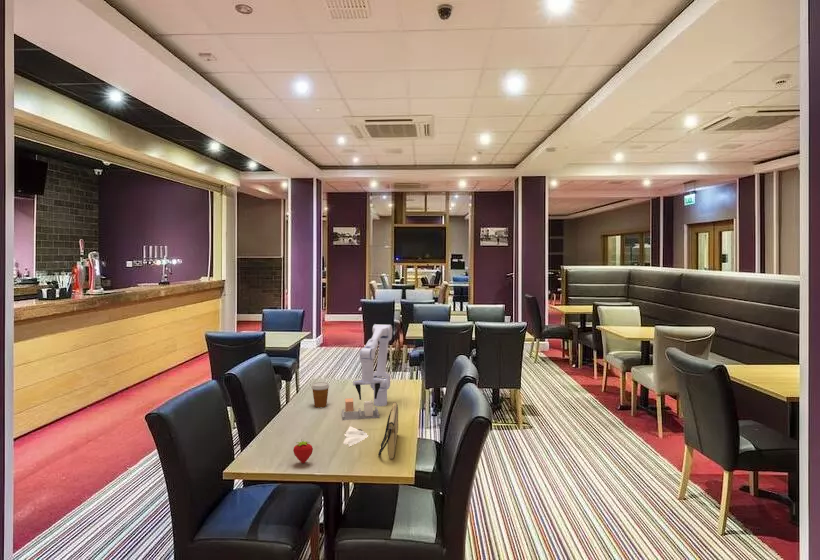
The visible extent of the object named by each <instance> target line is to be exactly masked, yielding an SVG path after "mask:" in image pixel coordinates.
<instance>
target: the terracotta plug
mask: <svg viewBox="0 0 820 560" xmlns="http://www.w3.org/2000/svg"><path fill="white" fill-rule="evenodd" d="M344 403H345V404H344V405H345V407H344V411H345V412H354V398H345V399H344Z"/></svg>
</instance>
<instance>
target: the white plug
mask: <svg viewBox="0 0 820 560" xmlns="http://www.w3.org/2000/svg"><path fill="white" fill-rule="evenodd" d="M373 410H374V402H373V401H372V400H364V401H363V411H364V414H365V417H368V416H373Z"/></svg>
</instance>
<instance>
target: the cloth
mask: <svg viewBox="0 0 820 560" xmlns="http://www.w3.org/2000/svg"><path fill="white" fill-rule="evenodd" d="M345 433H346V434H345ZM345 433H344V434H343V435H344V437H345V438H344V440H343V443H342V444H343V445H347V444H348V448H350V446H351V447H352V445H353V446H354V444H355V445H356V444H357V445H358V444H359V443H361V442H363V441H364V440H365V438H366V439H368V438H369V437H370V436H369V435H367V434H368V433H367V432H365V431H364V430H362V429H357V428H355V427H353V426H351V425H350V426H349V427H348V429H346V431H345ZM368 436H369V437H368ZM367 437H368V438H367ZM362 440H363V441H362ZM360 441H361V442H360Z"/></svg>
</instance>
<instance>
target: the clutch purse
mask: <svg viewBox="0 0 820 560" xmlns="http://www.w3.org/2000/svg"><path fill="white" fill-rule="evenodd" d="M398 432H399V405H398V402H395V401H393V403H392V405H391V410H390V412H389V415H388V418H387V422H386V427H385V432H384V437H383V439H382V441H381V444H380V446H381V449H380V448H379V450H378V454H377V455H381V454H382V452H383V451H384V449H386V446H387V456H388V458H389V459H391V460H393V459H394V458H395V455H396V445H397V438H398V437H397V436H398ZM386 438H387V439H386Z"/></svg>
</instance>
